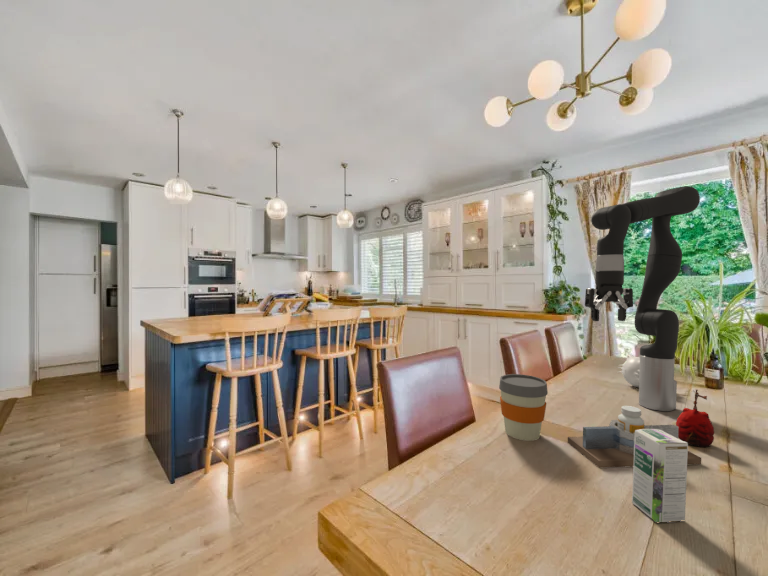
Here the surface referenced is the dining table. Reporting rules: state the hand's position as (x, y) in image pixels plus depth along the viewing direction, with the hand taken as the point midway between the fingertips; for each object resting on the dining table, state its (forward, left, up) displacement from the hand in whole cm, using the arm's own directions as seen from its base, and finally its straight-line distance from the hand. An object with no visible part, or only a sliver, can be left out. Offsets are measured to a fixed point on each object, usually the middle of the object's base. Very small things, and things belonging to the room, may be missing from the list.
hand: (608, 320), depth 108 cm
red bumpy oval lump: (-10, +19, -30) cm, 37 cm away
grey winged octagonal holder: (+11, +23, -29) cm, 38 cm away
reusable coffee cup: (+33, +11, -30) cm, 46 cm away
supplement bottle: (+11, +23, -29) cm, 38 cm away
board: (+11, +23, -30) cm, 39 cm away
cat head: (-34, -26, -30) cm, 52 cm away
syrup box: (+23, +44, -30) cm, 58 cm away
